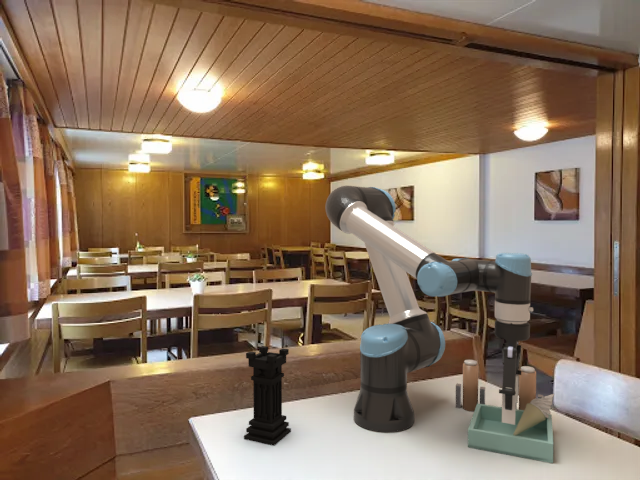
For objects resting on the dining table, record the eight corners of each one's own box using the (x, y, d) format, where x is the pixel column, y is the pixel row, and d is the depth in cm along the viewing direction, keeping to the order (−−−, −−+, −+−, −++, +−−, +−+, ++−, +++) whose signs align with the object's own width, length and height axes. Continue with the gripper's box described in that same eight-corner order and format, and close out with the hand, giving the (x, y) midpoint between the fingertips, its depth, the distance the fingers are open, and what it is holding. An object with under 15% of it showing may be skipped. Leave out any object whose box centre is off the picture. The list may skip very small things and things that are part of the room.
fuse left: (461, 409, 126) (461, 362, 126) (463, 404, 130) (464, 358, 129) (477, 412, 125) (477, 364, 124) (478, 407, 128) (479, 360, 128)
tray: (467, 447, 105) (467, 429, 105) (477, 418, 120) (477, 403, 120) (553, 463, 98) (553, 444, 98) (551, 431, 113) (551, 414, 113)
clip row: (455, 407, 128) (455, 385, 128) (456, 404, 130) (456, 383, 129) (542, 421, 119) (543, 397, 119) (542, 418, 121) (543, 395, 120)
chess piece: (291, 431, 113) (290, 348, 112) (274, 445, 106) (273, 357, 105) (262, 425, 116) (262, 345, 116) (244, 439, 109) (243, 353, 108)
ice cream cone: (527, 447, 107) (567, 403, 111) (516, 429, 106) (557, 386, 111) (512, 440, 111) (551, 399, 116) (501, 423, 111) (540, 382, 116)
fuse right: (518, 419, 120) (519, 369, 119) (518, 412, 124) (518, 364, 123) (536, 421, 119) (536, 371, 118) (534, 414, 122) (535, 366, 122)
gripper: (528, 333, 95) (526, 436, 96) (531, 312, 118) (529, 396, 119) (489, 329, 98) (487, 429, 99) (499, 310, 121) (497, 391, 122)
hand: (510, 411), depth 109 cm, fingers open, 13 cm apart
